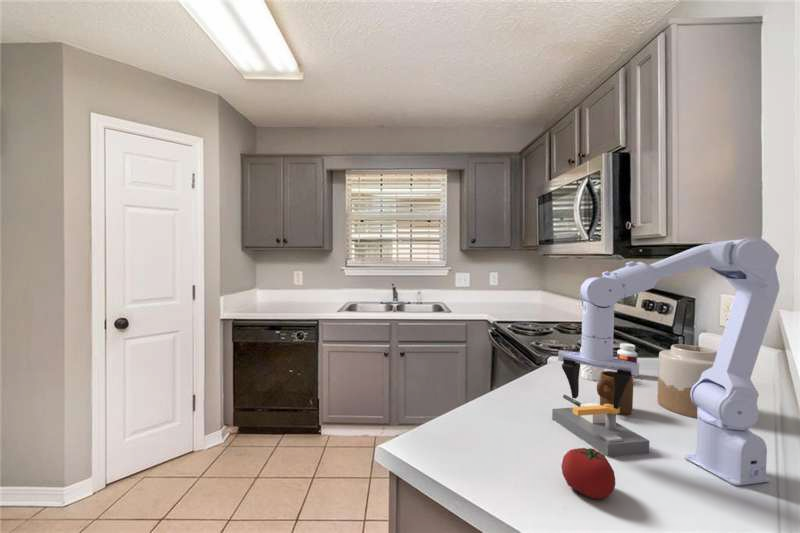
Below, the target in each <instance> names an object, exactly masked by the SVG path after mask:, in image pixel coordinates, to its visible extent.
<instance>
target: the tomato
mask: <svg viewBox="0 0 800 533" xmlns="http://www.w3.org/2000/svg"><path fill="white" fill-rule="evenodd" d="M561 472H562V475H563V478H564V480H565V481H566V484H567V486H568V487H570V488H571V489H572V490H574V491H576V492H579V493H581V494H582V495H583V496H586V497H588V498H589V499H596V500H597V499H598V500H604V499H606V498H608V497H609V496H610V495H611V494H612V493H613V492H614V489H615V487H616V483H617V482H616V477H615V471H614V469H613V467H612V465H611V464H610V462H609V460H608V459H607V456H606V455H604V454H603V453H601V452H600V451H598V450H597V449H595V448H592V447H591V448H585V447H578V448H573V449H569V450H568V451H567V452H566V453H565V454H564V455H563V458H562V462H561Z"/></svg>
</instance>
